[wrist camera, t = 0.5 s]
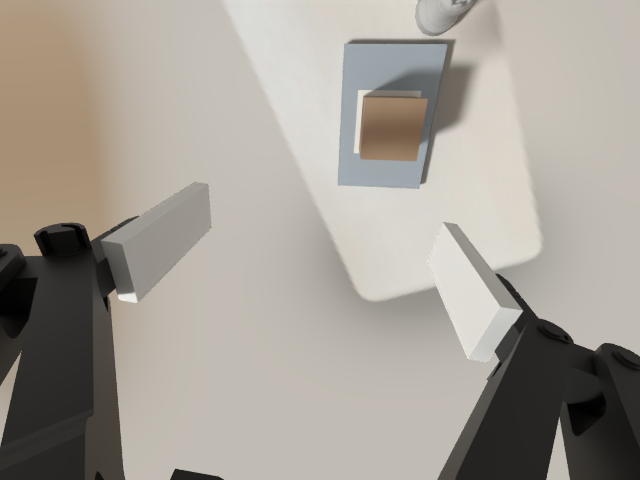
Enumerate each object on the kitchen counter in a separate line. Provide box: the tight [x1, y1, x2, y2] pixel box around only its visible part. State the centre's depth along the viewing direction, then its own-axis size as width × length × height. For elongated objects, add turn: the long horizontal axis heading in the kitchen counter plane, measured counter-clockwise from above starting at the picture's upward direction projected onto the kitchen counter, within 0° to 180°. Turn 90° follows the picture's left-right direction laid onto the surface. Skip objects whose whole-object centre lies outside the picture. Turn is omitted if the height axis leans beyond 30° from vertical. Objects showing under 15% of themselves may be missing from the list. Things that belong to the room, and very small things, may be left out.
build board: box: [338, 44, 448, 189], centre depth 34 cm, size 16×11×1 cm
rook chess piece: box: [415, 0, 476, 36], centre depth 25 cm, size 4×4×8 cm
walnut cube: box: [359, 96, 428, 161], centre depth 31 cm, size 6×6×6 cm
